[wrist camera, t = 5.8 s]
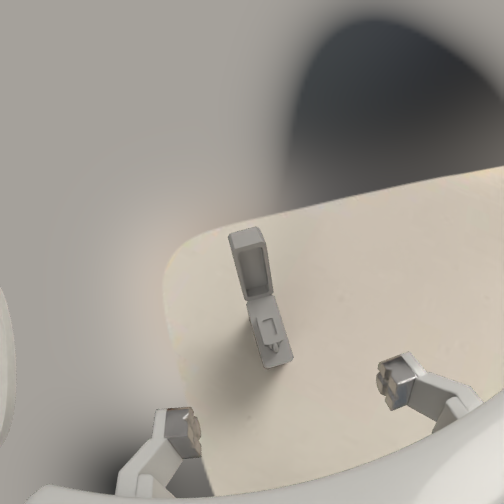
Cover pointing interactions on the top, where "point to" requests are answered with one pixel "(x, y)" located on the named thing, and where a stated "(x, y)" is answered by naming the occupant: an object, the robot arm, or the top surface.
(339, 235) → the top surface
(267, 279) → the lighter
